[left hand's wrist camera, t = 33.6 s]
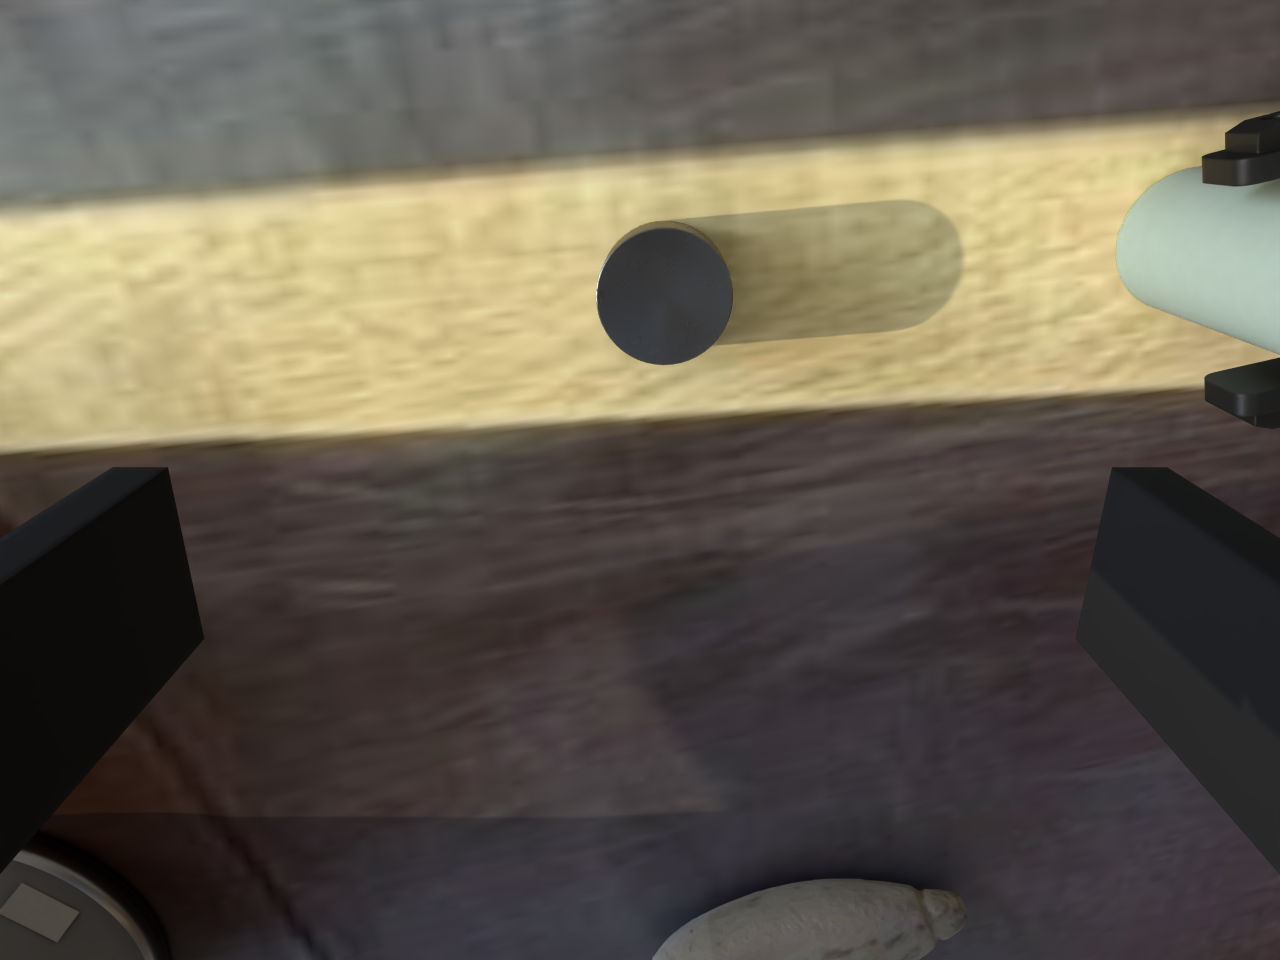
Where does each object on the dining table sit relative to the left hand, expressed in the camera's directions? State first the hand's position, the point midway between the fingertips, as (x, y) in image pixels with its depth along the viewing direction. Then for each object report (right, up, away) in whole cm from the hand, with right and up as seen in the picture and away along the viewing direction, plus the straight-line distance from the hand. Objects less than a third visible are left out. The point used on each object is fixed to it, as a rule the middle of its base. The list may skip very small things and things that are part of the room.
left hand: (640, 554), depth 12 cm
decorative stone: (+8, -20, +30) cm, 37 cm away
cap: (+1, +7, +17) cm, 18 cm away
